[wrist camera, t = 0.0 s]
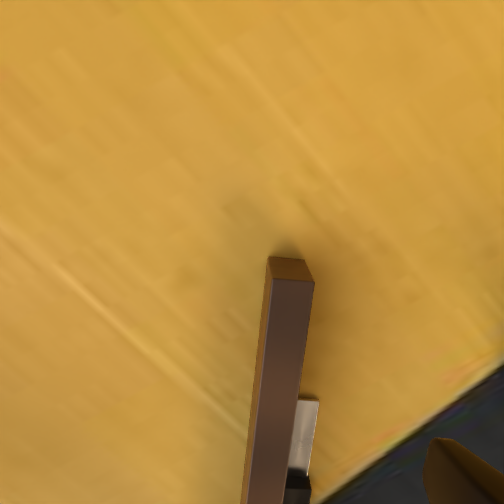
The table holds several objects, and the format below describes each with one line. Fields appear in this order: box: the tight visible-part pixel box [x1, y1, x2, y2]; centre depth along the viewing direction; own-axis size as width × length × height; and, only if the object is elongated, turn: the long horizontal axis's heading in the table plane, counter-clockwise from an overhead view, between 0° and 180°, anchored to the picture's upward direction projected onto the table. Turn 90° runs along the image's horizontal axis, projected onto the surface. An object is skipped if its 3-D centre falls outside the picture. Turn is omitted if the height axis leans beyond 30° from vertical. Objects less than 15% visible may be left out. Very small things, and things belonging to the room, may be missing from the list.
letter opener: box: [283, 398, 319, 504], centre depth 26 cm, size 11×2×1 cm, turn 175°
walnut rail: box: [240, 257, 315, 504], centre depth 24 cm, size 20×2×4 cm, turn 175°
